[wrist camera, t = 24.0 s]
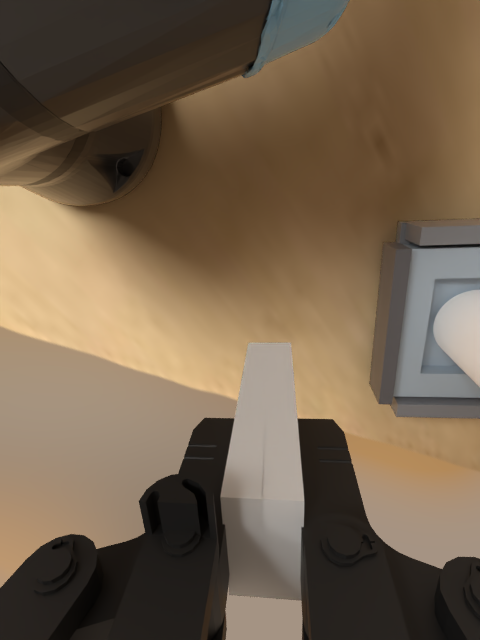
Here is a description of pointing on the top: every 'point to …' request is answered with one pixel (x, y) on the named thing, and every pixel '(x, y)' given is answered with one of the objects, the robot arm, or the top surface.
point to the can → (461, 332)
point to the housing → (438, 235)
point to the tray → (419, 320)
